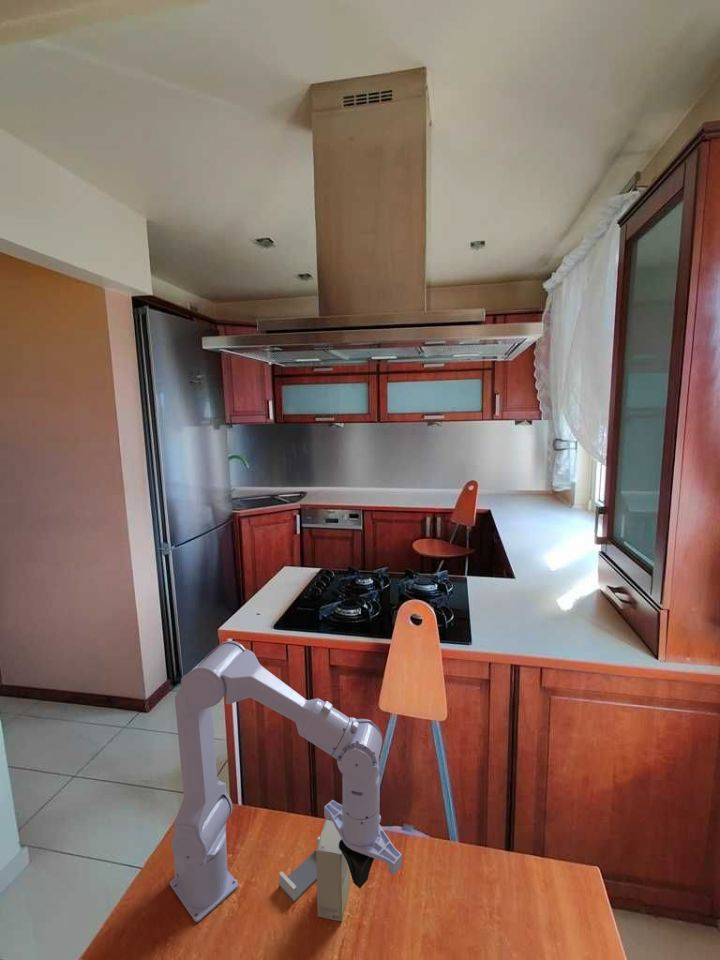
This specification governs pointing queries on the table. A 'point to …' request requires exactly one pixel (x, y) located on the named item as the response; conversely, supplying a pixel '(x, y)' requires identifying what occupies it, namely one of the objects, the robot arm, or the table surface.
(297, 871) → the u rest
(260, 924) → the table surface
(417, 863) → the table surface
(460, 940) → the table surface
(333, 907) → the skincare box
